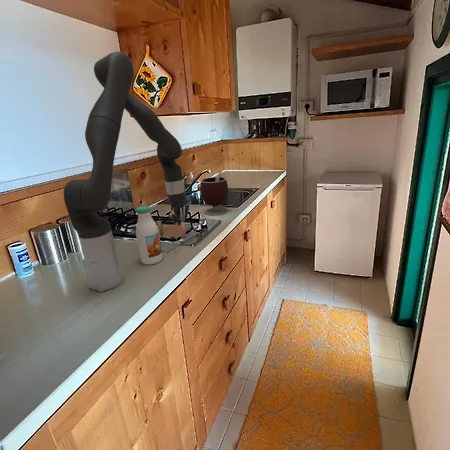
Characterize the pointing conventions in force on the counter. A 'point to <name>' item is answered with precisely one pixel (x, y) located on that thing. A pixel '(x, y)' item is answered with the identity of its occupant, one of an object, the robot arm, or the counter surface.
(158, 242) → the milk bottle
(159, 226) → the fence fixed
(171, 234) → the fence gate
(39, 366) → the counter surface
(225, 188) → the mate gourd
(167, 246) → the card
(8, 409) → the counter surface
